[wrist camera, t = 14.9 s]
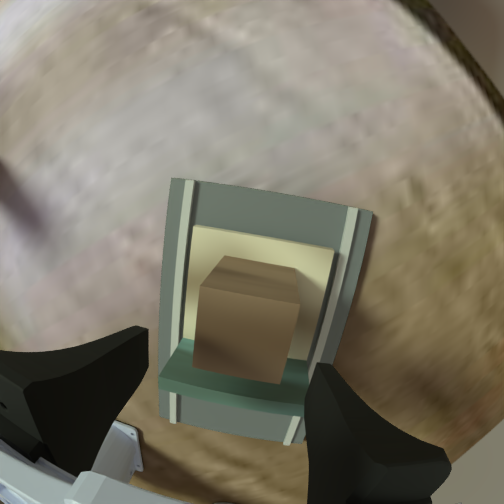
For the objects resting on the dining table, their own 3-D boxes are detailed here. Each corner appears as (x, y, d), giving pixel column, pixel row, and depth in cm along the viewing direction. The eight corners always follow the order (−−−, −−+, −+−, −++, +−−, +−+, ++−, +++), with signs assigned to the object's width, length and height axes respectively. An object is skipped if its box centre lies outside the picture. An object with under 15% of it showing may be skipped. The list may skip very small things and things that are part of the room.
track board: (301, 438, 25) (301, 446, 24) (162, 411, 26) (158, 418, 24) (369, 210, 20) (374, 212, 19) (175, 177, 21) (169, 177, 19)
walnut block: (281, 330, 20) (280, 384, 14) (215, 318, 20) (192, 367, 14) (294, 268, 19) (300, 304, 13) (224, 255, 19) (199, 285, 13)
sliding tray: (302, 361, 22) (307, 417, 15) (187, 339, 22) (158, 388, 16) (330, 246, 20) (352, 273, 13) (198, 223, 20) (164, 240, 14)
